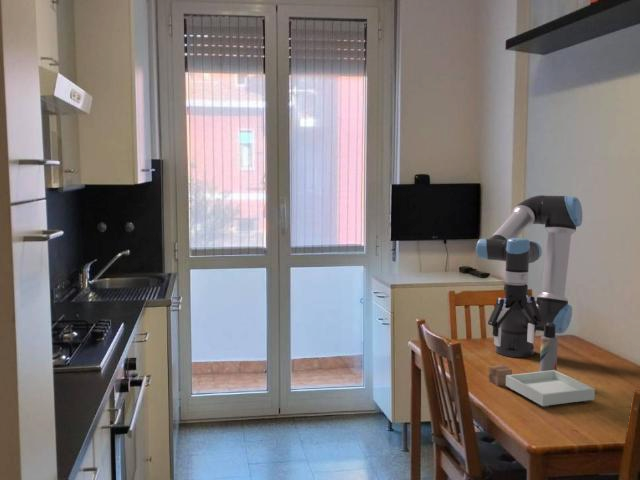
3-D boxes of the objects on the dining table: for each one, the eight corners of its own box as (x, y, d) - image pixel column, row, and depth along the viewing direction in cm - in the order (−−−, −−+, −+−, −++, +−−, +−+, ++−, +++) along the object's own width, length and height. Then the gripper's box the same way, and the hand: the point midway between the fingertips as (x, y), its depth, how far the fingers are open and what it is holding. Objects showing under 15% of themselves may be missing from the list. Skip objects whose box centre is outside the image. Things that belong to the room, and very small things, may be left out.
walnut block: (488, 381, 230) (489, 366, 229) (502, 380, 232) (502, 365, 231) (497, 386, 225) (498, 371, 224) (511, 384, 226) (511, 369, 226)
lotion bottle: (556, 377, 235) (558, 322, 232) (556, 381, 229) (558, 326, 227) (539, 375, 237) (541, 321, 234) (539, 380, 231) (541, 325, 229)
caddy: (505, 388, 222) (505, 375, 221) (553, 383, 228) (554, 370, 227) (542, 409, 203) (542, 394, 202) (594, 403, 209) (594, 388, 208)
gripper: (491, 287, 216) (489, 349, 218) (553, 283, 224) (550, 343, 226) (478, 283, 223) (476, 344, 225) (539, 279, 231) (537, 338, 233)
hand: (513, 344), depth 226 cm, fingers open, 13 cm apart
